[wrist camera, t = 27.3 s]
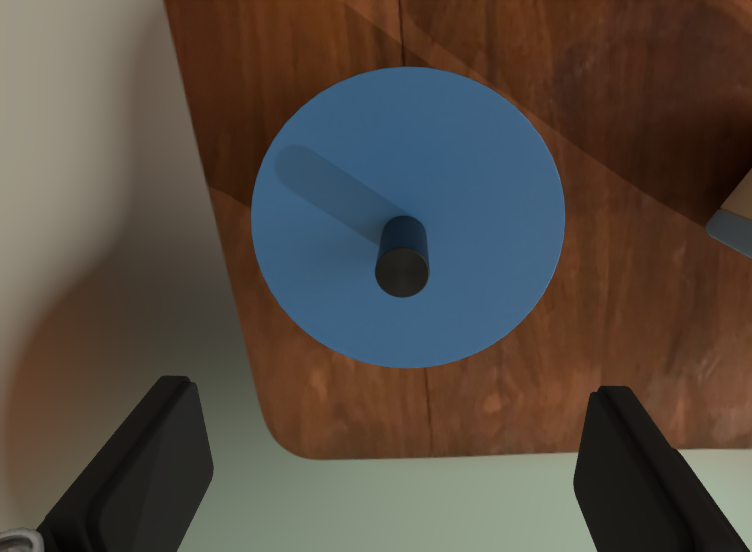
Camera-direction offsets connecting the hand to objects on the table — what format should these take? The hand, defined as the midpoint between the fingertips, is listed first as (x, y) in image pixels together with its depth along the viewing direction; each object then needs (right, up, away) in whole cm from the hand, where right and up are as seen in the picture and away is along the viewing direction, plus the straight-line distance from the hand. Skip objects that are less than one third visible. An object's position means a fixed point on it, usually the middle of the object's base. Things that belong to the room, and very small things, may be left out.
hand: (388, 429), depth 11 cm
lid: (+1, +6, +14) cm, 15 cm away
